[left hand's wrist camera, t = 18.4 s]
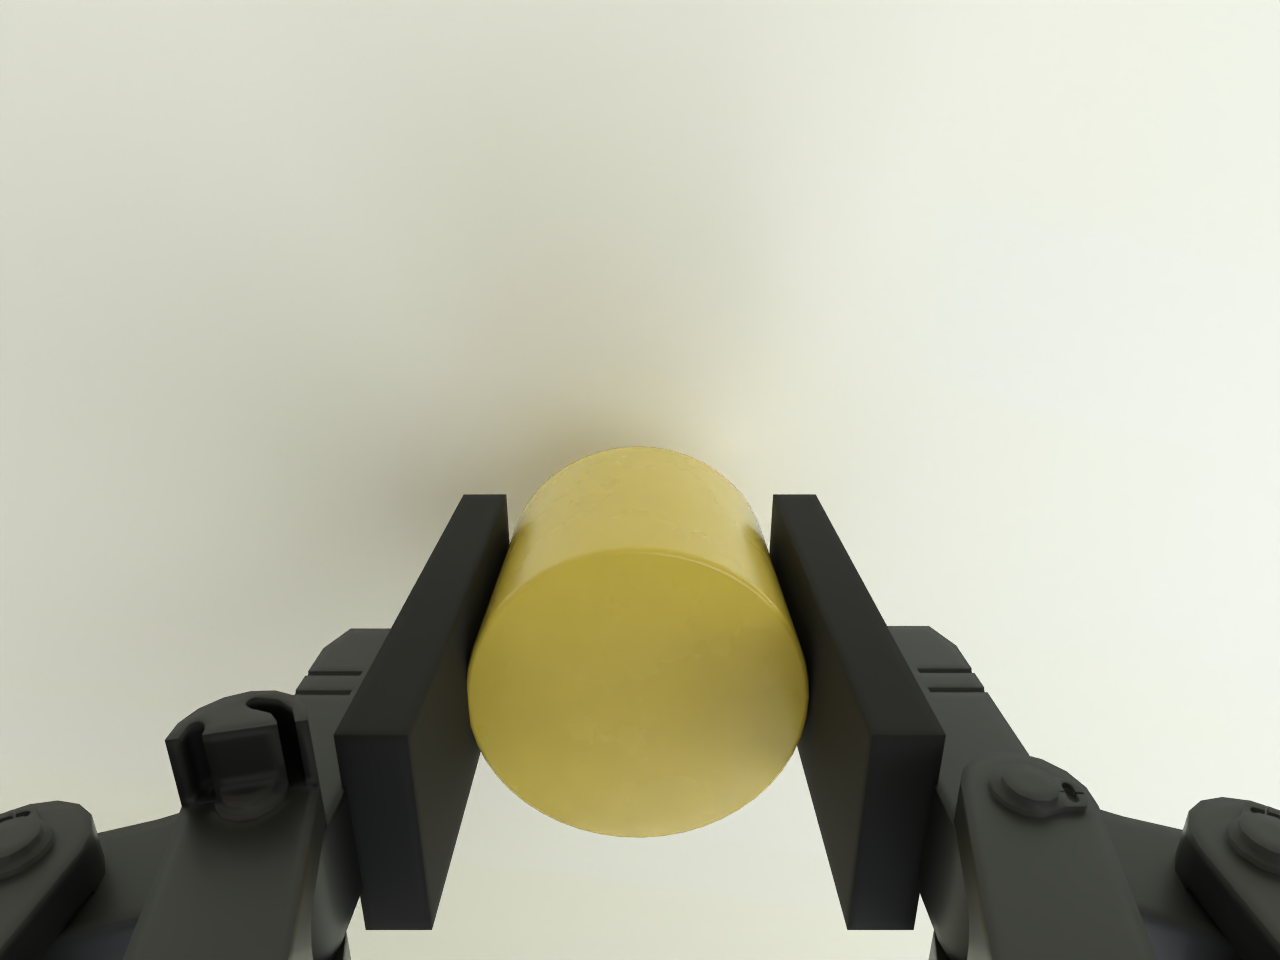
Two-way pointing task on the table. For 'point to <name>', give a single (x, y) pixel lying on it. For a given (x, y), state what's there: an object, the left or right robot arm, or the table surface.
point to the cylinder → (637, 650)
